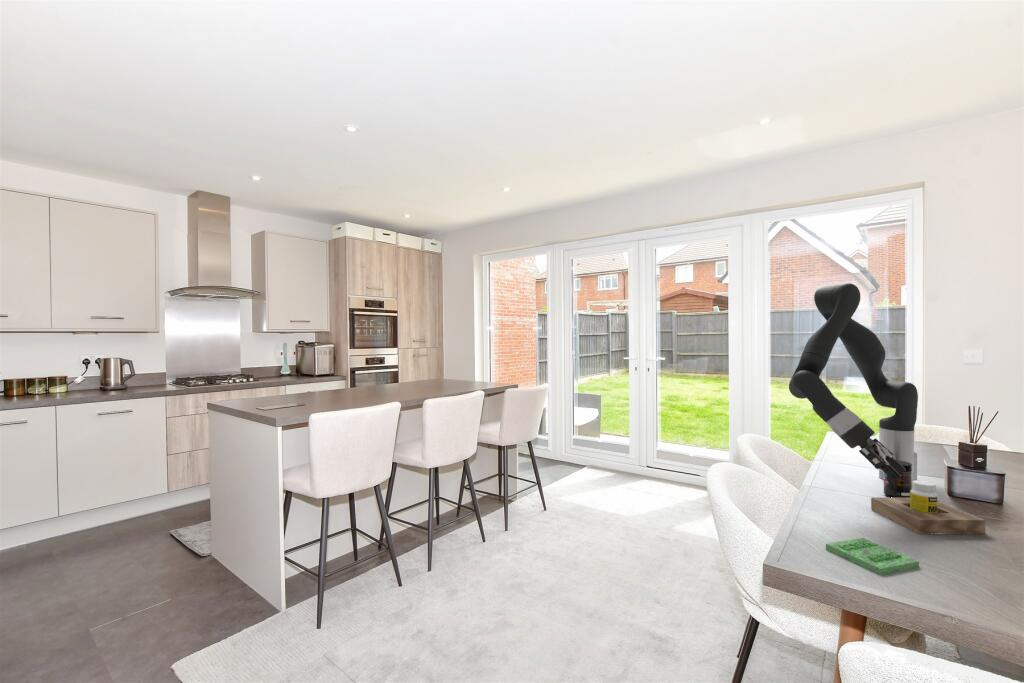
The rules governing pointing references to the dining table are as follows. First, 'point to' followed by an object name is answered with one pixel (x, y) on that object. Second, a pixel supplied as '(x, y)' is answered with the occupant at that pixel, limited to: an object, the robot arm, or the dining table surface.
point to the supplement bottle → (924, 497)
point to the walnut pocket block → (928, 517)
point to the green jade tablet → (872, 556)
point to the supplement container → (899, 483)
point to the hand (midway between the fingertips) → (900, 475)
